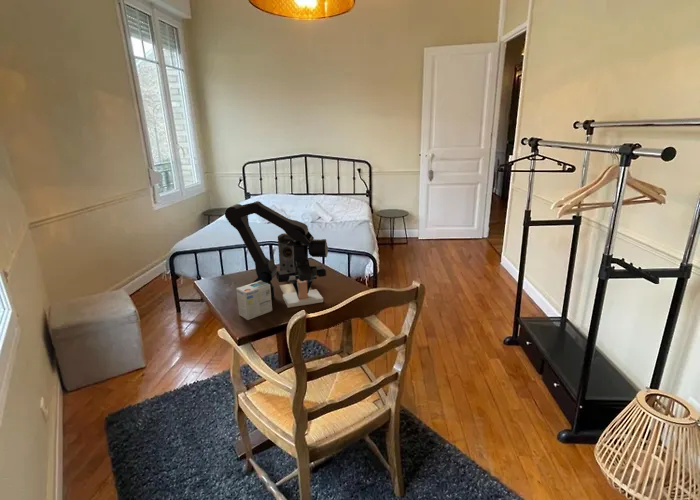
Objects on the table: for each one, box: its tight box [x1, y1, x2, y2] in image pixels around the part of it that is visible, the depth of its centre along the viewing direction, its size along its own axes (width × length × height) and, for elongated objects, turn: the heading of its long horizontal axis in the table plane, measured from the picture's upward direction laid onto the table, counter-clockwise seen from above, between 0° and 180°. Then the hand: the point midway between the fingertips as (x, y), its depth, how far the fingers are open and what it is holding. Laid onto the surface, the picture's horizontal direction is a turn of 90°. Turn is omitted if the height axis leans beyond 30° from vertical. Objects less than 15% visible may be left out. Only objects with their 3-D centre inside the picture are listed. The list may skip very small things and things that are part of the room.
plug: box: [297, 279, 308, 300], centre depth 151 cm, size 3×4×8 cm
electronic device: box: [277, 232, 299, 280], centre depth 173 cm, size 9×6×20 cm, turn 73°
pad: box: [279, 283, 314, 295], centre depth 163 cm, size 12×10×1 cm
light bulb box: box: [235, 280, 273, 321], centre depth 140 cm, size 11×7×11 cm, turn 136°
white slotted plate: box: [282, 288, 324, 308], centre depth 152 cm, size 14×10×2 cm
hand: (302, 293), depth 152 cm, fingers open, 4 cm apart
